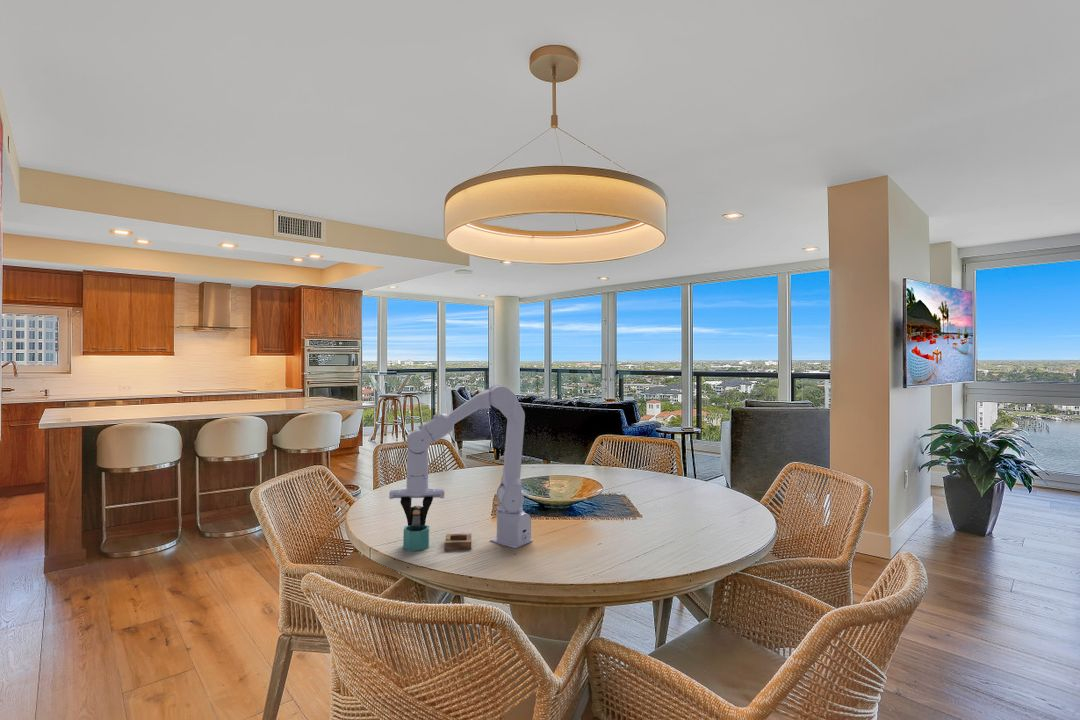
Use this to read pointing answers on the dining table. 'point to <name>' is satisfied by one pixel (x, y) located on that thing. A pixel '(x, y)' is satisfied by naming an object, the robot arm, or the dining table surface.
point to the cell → (416, 518)
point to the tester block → (458, 541)
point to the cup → (416, 538)
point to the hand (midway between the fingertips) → (416, 524)
